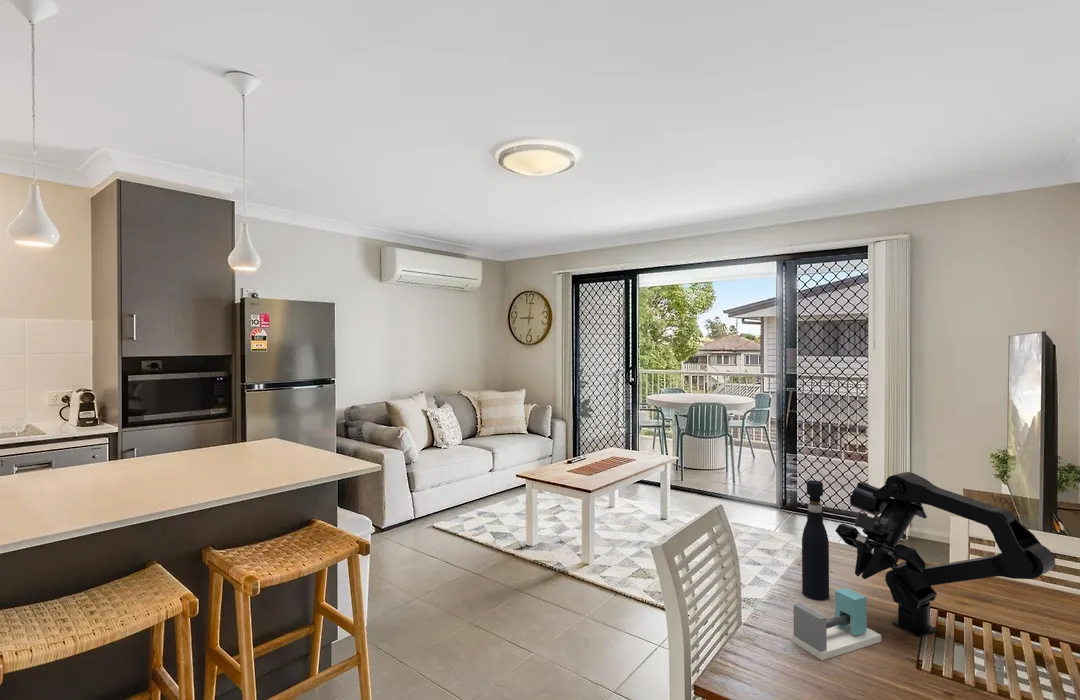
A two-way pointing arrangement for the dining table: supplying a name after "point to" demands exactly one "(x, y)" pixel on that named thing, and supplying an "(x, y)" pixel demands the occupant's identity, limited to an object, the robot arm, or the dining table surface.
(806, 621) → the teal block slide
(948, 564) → the robot arm
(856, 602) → the teal block on rod
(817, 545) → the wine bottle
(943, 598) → the dining table surface
